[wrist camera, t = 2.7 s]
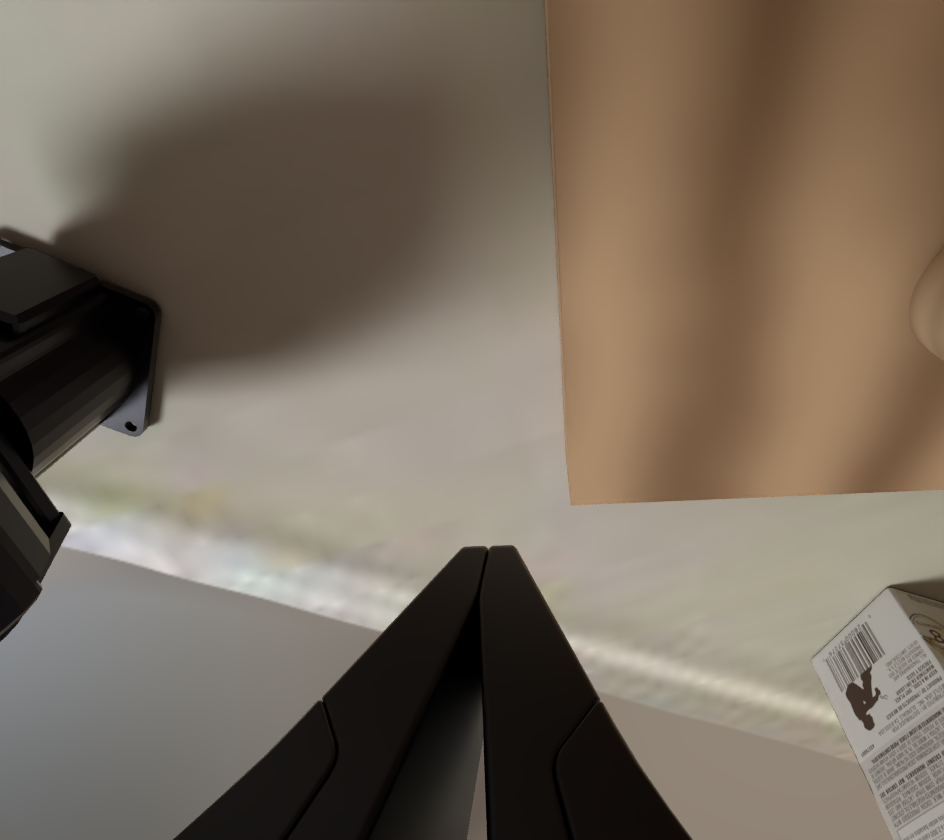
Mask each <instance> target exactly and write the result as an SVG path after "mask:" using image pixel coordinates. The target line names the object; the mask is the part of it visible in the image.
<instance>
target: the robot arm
mask: <svg viewBox="0 0 944 840" xmlns="http://www.w3.org/2000/svg"><path fill="white" fill-rule="evenodd" d="M141 308H143V309H145V310H146V311H147V312H148V315H149V316H147V315H145V314H144V313H143V312H142V310H141ZM160 322H161V310H160V308H159V306H158V305H157V304H156V303H155V302H154V301H153V300H151V299H149V298H147V297H144V296H142V295H139V294H137V293H134V292H132V291H129V290H127V289H124V288H122V287H119V286H117V285H114V284H112V283H109V282H107V281H104V280H102V279H100V278H99V277H98V276H96V275H95V274H93V273H90V272H88V271H85V270H83V269H80V268H78V267H75V266H73V265H70V264H68V263H65V262H63V261H60V260H58V259H55V258H53V257H50V256H48V255H45V254H43V253H40V252H38V251H35V250H33V249H30V248H22V247H19V246H16V245H14V244H11V243H9V242H6V241H4V240H1V239H0V641H1V640H3V639H4V638H5V637H6V636H7V635H8V634H9V632H10V631H11V630H12V629H13V628H14V627H15V626H16V625H17V624H18V622H19V621H20V619H21V618H22V616H23V615H24V614H25V613H26V611H27V610H28V609H29V608H30V607H31V606H32V604H33V603H34V602H35V601H36V600H37V598H38V596H39V595H40V593H41V591H42V586H41V584H40V583H41V582H42V580H43V578H44V576H45V574H46V572H47V570H48V568H49V567H50V565H51V563H52V561H53V559H54V557H55V555H56V553H57V552H58V550H59V548H60V546H61V544H62V542H63V540H64V538H65V536H66V535H67V533H68V531H69V529H70V527H71V523H70V522H69V520H68V519H67V517H66V516H65V515H64V513H63V512H58V510H57V509H56V507H55V506H54V504H53V503H52V501H51V500H50V499H49V497H48V496H47V494H46V493H45V491H44V490H43V488H42V487H41V486H40V484H39V483H38V481H37V480H36V478H38V477H39V476H40V475H41V474H42V473H44V472H45V471H46V470H47V469H48V468H49V467H51V466H52V465H53V464H54V463H55V462H57V461H58V460H59V459H60V458H61V457H63V456H64V455H65V454H66V453H67V452H68V451H70V450H71V449H72V448H73V447H74V446H76V445H77V444H78V443H79V442H80V441H81V440H83V439H84V438H85V437H86V436H87V435H89V434H90V433H91V432H92V431H93V430H94V429H96V428H97V427H98V426H99V425H102V426H105V427H108V428H111V429H113V430H116V431H119V432H122V433H124V434H127V435H130V436H134V437H135V436H139V435H141V434H142V433H143V432H144V431H145V430H146V429H147V427H148V423H149V415H150V406H151V398H152V389H153V381H154V372H155V364H156V355H157V347H158V339H159V330H160ZM131 422H132V423H134V424H135V425H136V426H135V425H133V424H132V423H131ZM322 700H323V702H322V701H321V700H319V701H317V702H316V703H315V704H314V705H313V706H312V707H311V708H310V709H309V711H308V712H307V713H306V714H305V715H304V716H303V717H302V718H301V719H300V720H299V721H298V722H297V723H296V724H295V725H294V726H293V727H292V728H291V729H290V731H288V732H287V734H285V735H284V736H283V737H282V738H281V739H280V741H279V742H277V744H276V745H275V746H274V747H273V748H272V749H271V750H270V751H269V752H268V753H267V754H266V755H265V756H264V757H263V758H262V759H260V760H259V761H258V762H257V763H256V764H255V765H254V766H253V767H252V768H251V769H250V770H249V771H248V772H247V773H245V774H244V776H242V777H241V778H240V779H239V780H238V781H237V782H236V783H235V784H234V785H233V786H232V787H230V789H229V790H227V791H226V792H225V793H224V794H223V795H222V796H221V797H220V798H219V799H217V800H216V801H215V803H213V804H212V805H211V806H210V807H209V808H207V809H206V810H205V811H204V812H203V813H202V814H201V815H200V816H199V817H197V818H196V819H195V820H194V821H193V822H192V823H191V824H190V825H189V826H188V827H186V828H185V829H184V830H183V831H182V832H181V833H180V834H179V835H178V836H176V837H175V838H174V839H173V840H467V835H468V829H469V828H468V827H469V822H470V816H471V810H472V803H473V797H474V792H475V784H476V779H477V773H478V767H479V761H480V754H481V748H482V741H483V739H484V766H485V790H486V791H485V792H486V819H487V840H692V838H691V837H690V835H689V834H688V833H687V831H686V830H685V829H684V827H683V826H682V825H681V823H680V822H679V820H678V819H677V818H676V816H675V815H674V814H673V812H672V811H671V810H670V809H669V807H668V805H667V804H666V803H665V801H664V800H663V798H662V797H661V795H660V794H659V792H658V791H657V790H656V788H655V787H654V785H653V784H652V782H651V781H650V780H649V778H648V776H647V775H646V773H645V772H644V771H643V769H642V768H641V766H640V765H639V763H638V762H637V760H636V759H635V757H634V755H633V753H632V752H631V750H630V748H629V747H628V745H627V743H626V742H625V740H624V739H623V737H622V735H621V733H620V732H619V730H618V729H617V727H616V725H615V723H614V722H613V720H612V718H611V716H610V714H609V713H608V711H607V709H606V707H605V706H604V704H603V703H602V702H600V698H599V696H598V694H597V692H596V691H595V689H594V687H593V685H592V683H591V682H590V680H589V678H588V676H587V674H586V673H585V671H584V669H583V667H582V666H581V664H580V662H579V660H578V658H577V657H576V655H575V653H574V651H573V649H572V648H571V646H570V644H569V642H568V640H567V639H566V637H565V635H564V633H563V631H562V630H561V628H560V626H559V624H558V622H557V621H556V619H555V617H554V615H553V613H552V612H551V610H550V608H549V606H548V604H547V603H546V601H545V599H544V597H543V595H542V594H541V592H540V590H539V588H538V587H537V585H536V583H535V581H534V579H533V578H532V576H531V574H530V572H529V570H528V569H527V567H526V565H525V563H524V561H523V560H522V558H521V556H520V554H519V552H518V551H517V549H516V548H515V546H513V545H503V546H492V547H490V548H489V550H488V548H487V547H485V546H473V547H463V548H462V549H460V551H459V552H458V553H457V554H456V555H455V556H454V557H453V558H452V559H451V560H450V561H449V562H448V563H447V564H446V565H445V567H444V568H443V569H442V570H441V571H440V572H439V573H438V574H437V575H436V576H435V577H434V578H433V579H432V580H431V581H430V583H429V584H428V585H427V586H426V587H425V588H424V589H423V590H422V591H421V592H420V593H419V594H418V595H417V596H416V597H415V599H414V600H413V601H412V602H411V603H410V604H409V605H408V606H407V607H406V608H405V609H404V610H403V611H402V612H401V614H400V615H399V616H398V617H397V618H396V619H395V620H394V621H393V622H392V623H391V624H390V625H389V626H388V627H387V628H386V630H385V631H384V632H383V633H382V634H381V635H380V636H379V637H378V638H377V639H376V640H375V641H374V642H373V643H372V644H371V646H370V647H369V648H368V649H367V650H366V651H365V652H364V653H363V654H362V655H361V656H360V657H359V659H357V661H356V662H355V663H354V664H353V665H352V666H351V667H350V668H349V669H348V670H347V671H346V672H345V673H344V674H343V676H342V677H341V678H340V679H339V680H338V681H337V682H336V683H335V684H334V685H333V686H332V687H331V688H330V689H329V691H327V693H326V694H325V695H324V696H323V698H322Z"/></svg>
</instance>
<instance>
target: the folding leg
mask: <svg viewBox="0 0 944 840" xmlns="http://www.w3.org/2000/svg"><path fill="white" fill-rule="evenodd" d="M909 323H910V326H911V330H912V332H913V334H914V336H915V338H916V339H917V340H918V341H919V343H920V344H921V345H923V346H924V347H925V348H926V349H927V350H929V351H930V352H932V353H933V354H934V355H936V356H937V357H939V358H940V359H941V360H943V361H944V249H943V250H942V251H941V252H940V253H939V254H938V255H937V256H936V257H935V258H934V259H933V260H932V261H931V263H930V264H929V265H928V266H927V268H926V269H925V270H924V272H923V274H922V275H921V277H920V278H919V280H918V282H917V284H916V286H915V288H914V291H913V294H912V296H911V300H910V305H909Z"/></svg>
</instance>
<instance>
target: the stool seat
mask: <svg viewBox="0 0 944 840" xmlns="http://www.w3.org/2000/svg"><path fill="white" fill-rule="evenodd" d="M544 7H545V28H546V49H547V69H548V90H549V111H550V132H551V153H552V174H553V195H554V216H555V236H556V257H557V278H558V299H559V320H560V341H561V362H562V383H563V403H564V424H565V445H566V462H567V472H568V482H569V492H570V502H571V505H589V504H612V503H636V502H660V501H684V500H707V499H731V498H755V497H779V496H802V495H826V494H850V493H874V492H897V491H921V490H944V361H943V360H941V359H940V358H939V357H937V356H936V355H934V354H933V353H932V352H930V351H929V350H927V349H926V348H925V347H924V346H923V345H921V344H920V343H919V341H918V340H917V339H916V338H915V336H914V334H913V332H912V330H911V326H910V323H909V305H910V300H911V296H912V294H913V291H914V288H915V286H916V284H917V282H918V280H919V278H920V277H921V275H922V274H923V272H924V270H925V269H926V268H927V266H928V265H929V264H930V263H931V261H932V260H933V259H934V258H935V257H936V256H937V255H938V254H939V253H940V252H941V251H942V250H943V249H944V0H544Z"/></svg>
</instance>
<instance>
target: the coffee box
mask: <svg viewBox="0 0 944 840" xmlns="http://www.w3.org/2000/svg"><path fill="white" fill-rule="evenodd" d="M811 662H812V664H813V666H814V668H815V670H816V672H817V674H818V677H819V679H820V681H821V683H822V685H823V687H824V689H825V691H826V694H827V696H828V698H829V700H830V702H831V704H832V707H833V709H834V711H835V713H836V715H837V717H838V719H839V722H840V724H841V726H842V728H843V730H844V732H845V735H846V737H847V739H848V741H849V743H850V746H851V748H852V750H853V752H854V754H855V756H856V758H857V760H858V763H859V765H860V767H861V769H862V771H863V773H864V775H865V777H866V779H867V782H868V784H869V786H870V789H871V791H872V793H873V795H874V797H875V799H876V802H877V804H878V806H879V808H880V810H881V813H882V815H883V817H884V819H885V821H886V824H887V826H888V828H889V830H890V832H891V835H892V837H893V839H894V840H944V603H942V602H938V601H935V600H932V599H928V598H925V597H921V596H918V595H914V594H911V593H907V592H904V591H900V590H897V589H894V588H887V589H885V590H884V591H883V592H882V593H881V594H880V595H879V596H878V597H877V598H876V599H875V600H874V601H873V602H871V603H870V604H869V605H868V606H867V607H866V608H865V609H864V610H863V611H862V612H861V613H860V614H859V615H858V616H857V617H856V618H855V619H854V620H853V621H851V622H850V623H849V624H848V625H847V626H846V627H845V628H844V629H843V630H842V631H841V632H840V633H839V634H838V635H837V636H836V637H835V638H834V639H832V640H831V641H830V642H829V643H828V644H827V645H826V646H825V647H824V648H823V649H822V650H821V651H820V652H819V653H818V654H817V655H815V656H814V657H813V658H812V660H811Z"/></svg>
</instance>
